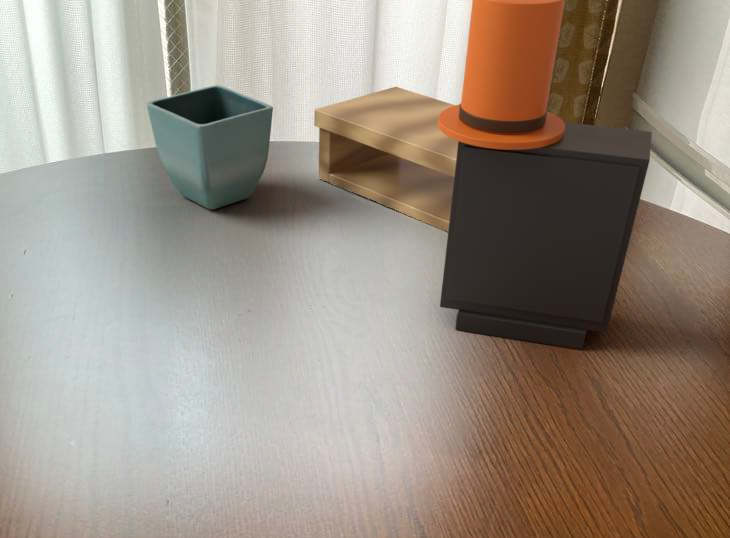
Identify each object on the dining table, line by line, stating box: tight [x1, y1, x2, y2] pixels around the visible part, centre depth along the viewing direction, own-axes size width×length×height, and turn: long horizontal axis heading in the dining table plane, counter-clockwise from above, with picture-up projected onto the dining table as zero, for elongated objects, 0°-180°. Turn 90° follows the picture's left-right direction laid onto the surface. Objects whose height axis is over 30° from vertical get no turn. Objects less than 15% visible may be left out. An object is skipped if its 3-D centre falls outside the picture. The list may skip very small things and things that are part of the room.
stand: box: [313, 86, 458, 233], centre depth 92 cm, size 22×12×7 cm, turn 44°
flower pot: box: [146, 84, 274, 211], centre depth 89 cm, size 9×9×9 cm
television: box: [439, 121, 653, 351], centre depth 70 cm, size 7×13×14 cm, turn 74°
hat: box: [438, 0, 566, 150], centre depth 63 cm, size 9×9×8 cm
